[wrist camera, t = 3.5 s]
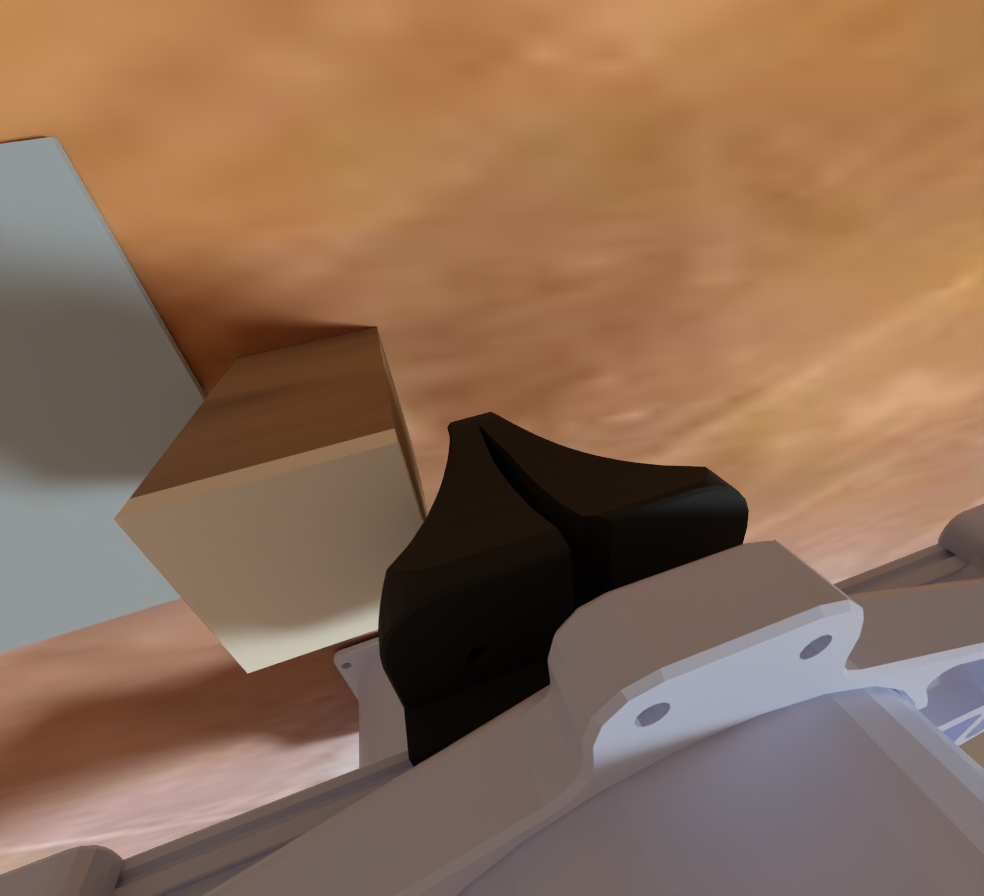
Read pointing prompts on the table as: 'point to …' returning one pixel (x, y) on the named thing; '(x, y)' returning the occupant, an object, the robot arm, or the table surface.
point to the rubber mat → (75, 404)
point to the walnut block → (285, 499)
